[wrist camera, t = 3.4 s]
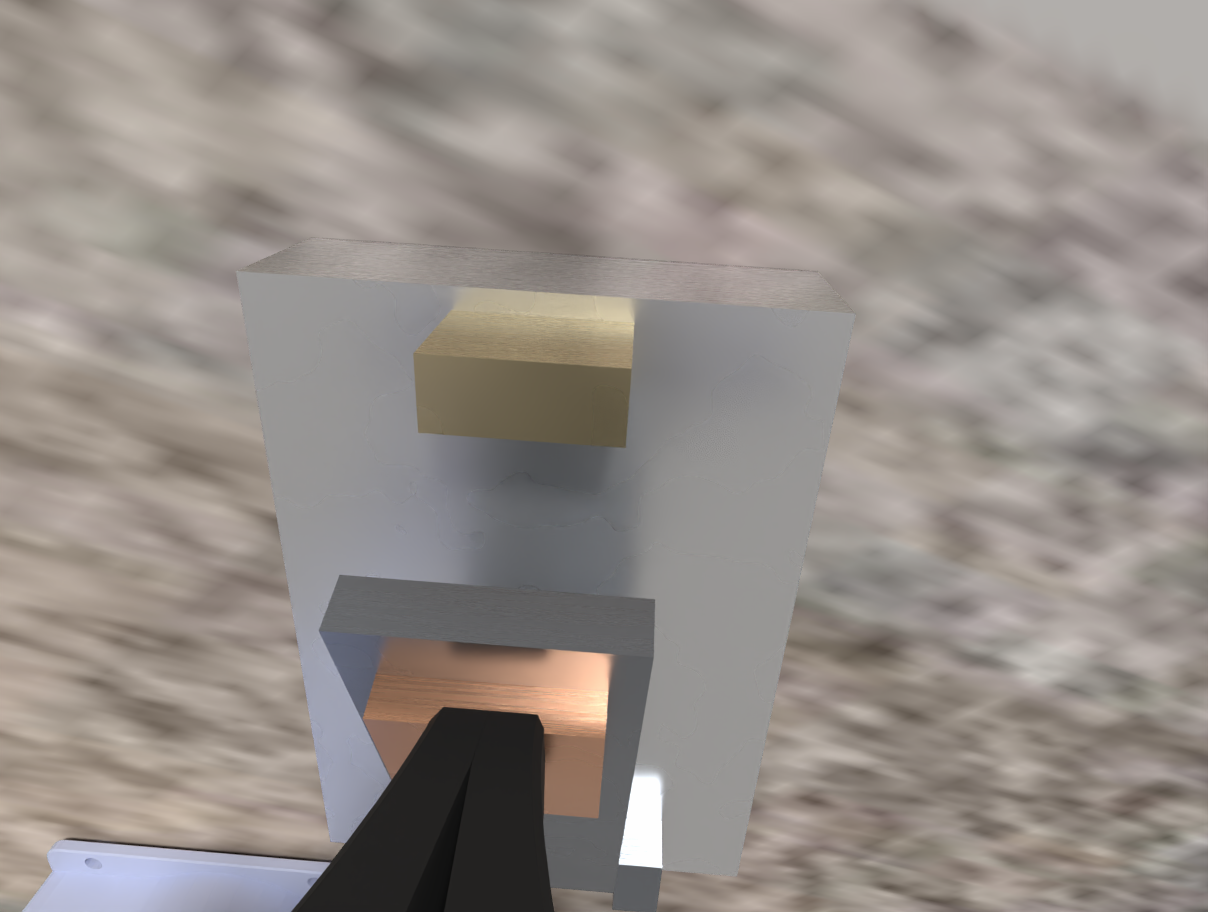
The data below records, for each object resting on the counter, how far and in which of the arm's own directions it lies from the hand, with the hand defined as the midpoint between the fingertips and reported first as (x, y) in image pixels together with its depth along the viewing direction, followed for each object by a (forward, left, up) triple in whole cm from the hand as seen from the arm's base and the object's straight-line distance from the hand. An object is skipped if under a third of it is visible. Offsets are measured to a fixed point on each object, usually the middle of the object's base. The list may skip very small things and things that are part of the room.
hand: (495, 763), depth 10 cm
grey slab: (0, -3, -3) cm, 4 cm away
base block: (0, -2, -8) cm, 8 cm away
